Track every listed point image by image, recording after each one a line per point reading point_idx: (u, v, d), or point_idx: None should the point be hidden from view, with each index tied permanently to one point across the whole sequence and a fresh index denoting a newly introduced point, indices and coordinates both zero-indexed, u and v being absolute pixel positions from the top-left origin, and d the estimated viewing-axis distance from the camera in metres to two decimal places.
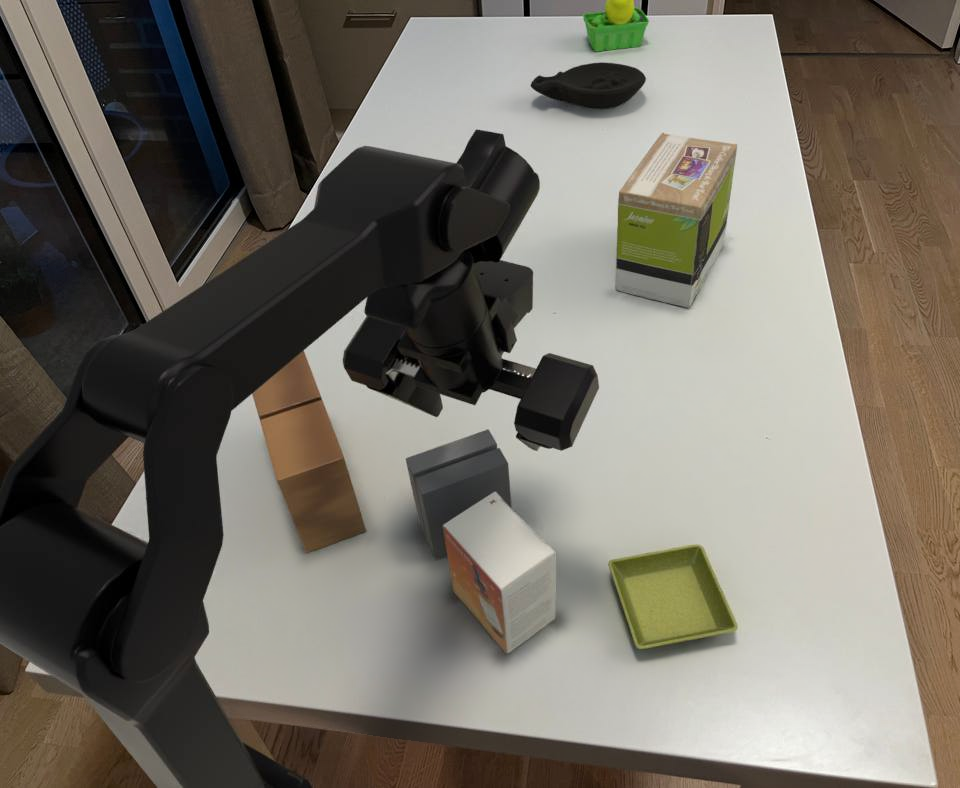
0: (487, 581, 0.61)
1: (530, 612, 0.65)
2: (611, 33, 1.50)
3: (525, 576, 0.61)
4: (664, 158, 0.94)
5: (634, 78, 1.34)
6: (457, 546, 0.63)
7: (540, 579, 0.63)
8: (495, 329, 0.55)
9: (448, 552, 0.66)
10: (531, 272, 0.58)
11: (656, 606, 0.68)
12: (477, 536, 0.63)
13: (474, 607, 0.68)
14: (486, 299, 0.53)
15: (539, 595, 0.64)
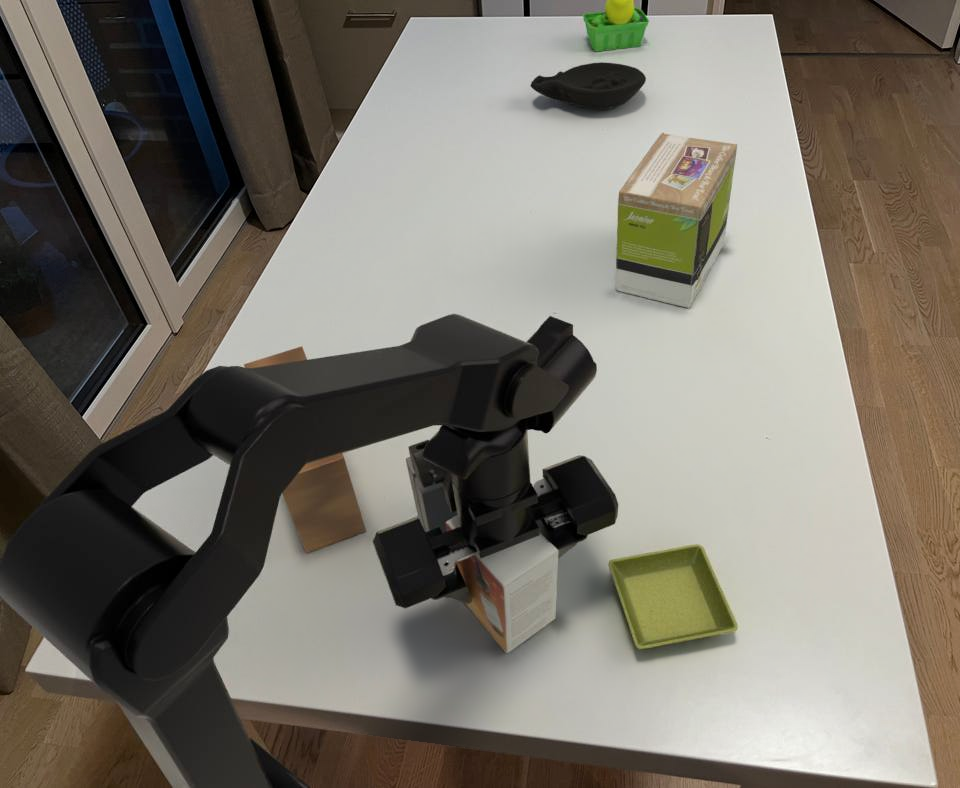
0: (490, 578, 0.61)
1: (531, 610, 0.65)
2: (611, 33, 1.50)
3: (528, 574, 0.61)
4: (664, 158, 0.94)
5: (634, 78, 1.34)
6: None
7: (542, 578, 0.63)
8: None
9: None
10: None
11: (656, 606, 0.68)
12: None
13: (474, 606, 0.68)
14: None
15: (540, 594, 0.64)
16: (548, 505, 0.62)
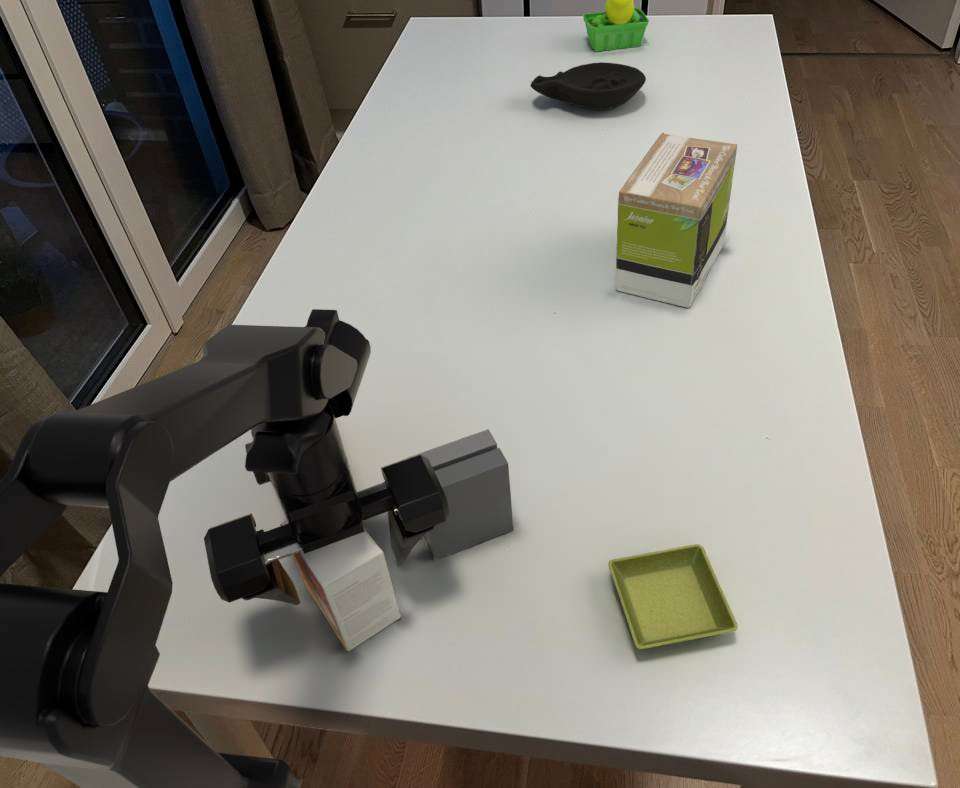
0: (314, 579, 0.62)
1: (366, 610, 0.66)
2: (611, 33, 1.50)
3: (350, 575, 0.62)
4: (664, 158, 0.94)
5: (634, 78, 1.34)
6: None
7: (370, 579, 0.64)
8: None
9: None
10: None
11: (656, 606, 0.68)
12: None
13: (319, 604, 0.69)
14: None
15: (372, 594, 0.65)
16: (379, 502, 0.63)
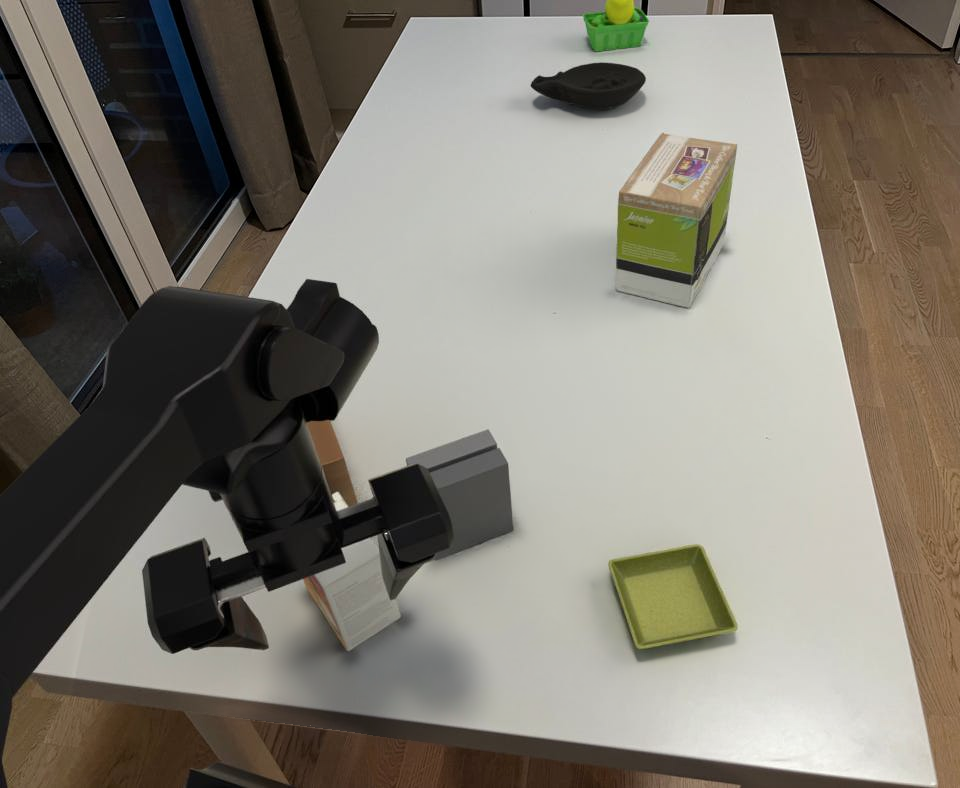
0: (314, 579, 0.62)
1: (366, 610, 0.66)
2: (611, 33, 1.50)
3: (350, 575, 0.62)
4: (664, 158, 0.94)
5: (634, 78, 1.34)
6: None
7: (370, 579, 0.64)
8: None
9: None
10: None
11: (656, 606, 0.68)
12: None
13: (319, 605, 0.69)
14: None
15: (372, 594, 0.65)
16: (365, 524, 0.50)
